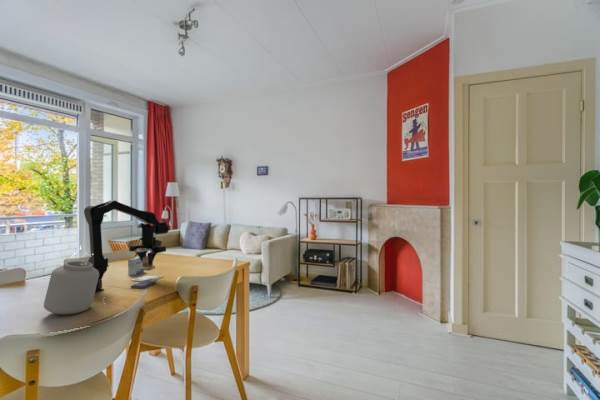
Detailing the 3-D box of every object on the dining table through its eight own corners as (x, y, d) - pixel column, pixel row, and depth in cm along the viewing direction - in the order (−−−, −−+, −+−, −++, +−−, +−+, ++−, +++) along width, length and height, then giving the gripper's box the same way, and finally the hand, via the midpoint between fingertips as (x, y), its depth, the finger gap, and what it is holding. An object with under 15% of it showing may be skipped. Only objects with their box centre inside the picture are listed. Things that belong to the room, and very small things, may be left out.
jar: (109, 301, 121) (109, 242, 121) (98, 315, 107) (97, 248, 107) (55, 306, 115) (54, 244, 115) (35, 322, 101) (34, 251, 101)
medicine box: (135, 275, 161) (135, 259, 161) (127, 274, 162) (127, 259, 161) (143, 271, 169) (143, 256, 169) (136, 271, 169) (136, 256, 169)
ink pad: (143, 289, 137) (143, 286, 137) (130, 287, 139) (130, 285, 139) (156, 283, 146) (156, 281, 146) (144, 282, 148) (144, 279, 148)
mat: (148, 282, 148) (148, 281, 148) (130, 280, 150) (130, 279, 150) (163, 276, 158) (163, 275, 158) (146, 275, 161) (146, 274, 161)
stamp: (148, 270, 151) (148, 258, 151) (140, 270, 152) (140, 257, 152) (155, 268, 156) (155, 256, 156) (147, 267, 157) (147, 255, 157)
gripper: (172, 234, 160) (172, 262, 160) (144, 233, 164) (144, 260, 164) (158, 237, 149) (158, 267, 149) (128, 235, 153) (128, 264, 153)
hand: (147, 264), depth 154 cm, fingers closed on stamp, 3 cm apart
